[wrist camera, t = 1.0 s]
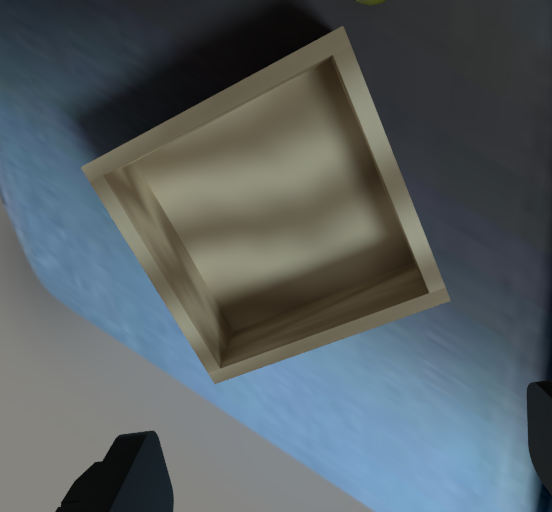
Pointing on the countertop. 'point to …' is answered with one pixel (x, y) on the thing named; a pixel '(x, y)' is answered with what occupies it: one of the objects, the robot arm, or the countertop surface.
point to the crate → (273, 214)
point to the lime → (370, 2)
